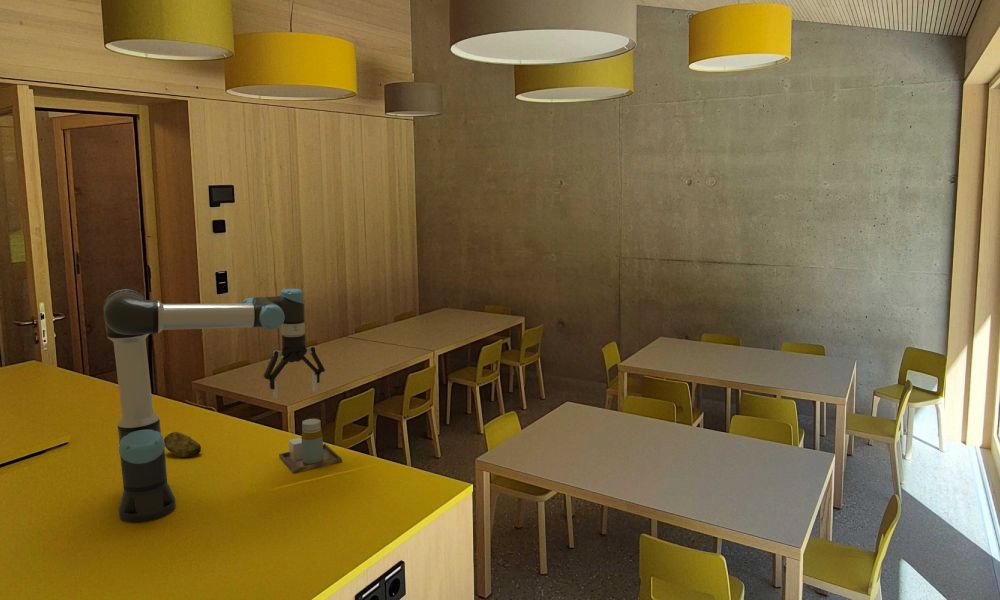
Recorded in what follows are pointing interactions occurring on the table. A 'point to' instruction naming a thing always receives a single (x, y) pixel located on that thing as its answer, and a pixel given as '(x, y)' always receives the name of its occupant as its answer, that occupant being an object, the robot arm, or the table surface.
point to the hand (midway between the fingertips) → (295, 395)
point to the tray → (299, 466)
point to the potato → (182, 445)
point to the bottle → (312, 442)
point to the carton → (295, 449)
